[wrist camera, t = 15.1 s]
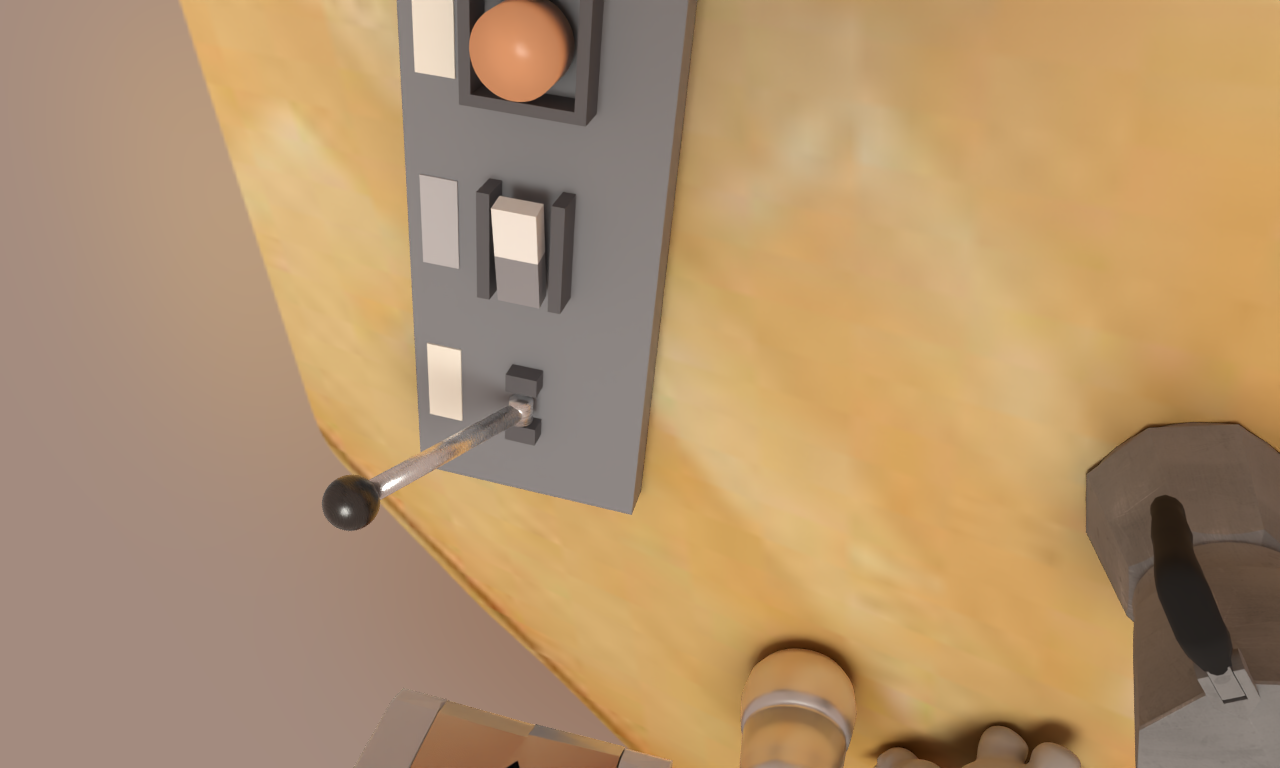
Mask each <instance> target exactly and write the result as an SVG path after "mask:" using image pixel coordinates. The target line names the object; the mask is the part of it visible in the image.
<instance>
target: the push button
mask: <svg viewBox="0 0 1280 768" xmlns="http://www.w3.org/2000/svg"><path fill="white" fill-rule="evenodd" d="M574 49H575V44H574V36H573V32H572V29H571V26H570V24H569V22H568V20H567V18H566V17H565V15H564V14H563V12H562V11H561V10H560V9H559V8H558V7H557V6H556V5H555V4H553V3H552V2H551V1H549V0H504V1H503V2H501V3H500V4H498V5H496V6H495V7H493V8H491V9H490V10H488V11H487V12H485V13H484V14H483V15H482V16H481V17H480V18H479V19H478V20H477V22H476V23H475V25H474V27H473V29H472V32H471V35H470V41H469V53H470V59H471V62H472V66H473V68H474V70H475V72H476V74H477V76H478V78H479V79H480V80H481V82H482V83H483V84H484V85H485V86H486V87H487V88H488V89H489V90H490V91H491V92H493V93H494V94H496V95H497V96H499V97H501V98H503V99H506V100H509V101H514V102H526V101H531V100H534V99H536V98H538V97H540V96H542V95H543V94H544V93H546V92H547V91H548V90H549V89H550V88H551V87H552V86H553V85H554V84H555V83H556V82H557V81H559V80H560V79H561V78H562V77H563V76H564V75H565V73H566V72H567V71H568V69H569V67H570V65H571V63H572V60H573V56H574Z"/></svg>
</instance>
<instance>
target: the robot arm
mask: <svg viewBox="0 0 1280 768" xmlns="http://www.w3.org/2000/svg"><path fill="white" fill-rule="evenodd" d="M354 768H672V760H669V759H665V758H661V757H657V756H653V755H649V754H645V753H641V752H637V751H633V750H629V749H625V747H624V746H620V745H616V744H611V743H608V742H604V741H600V740H596V739H592V738H588V737H584V736H580V735H576V734H572V733H568V732H565V731H561V730H556V729H552V728H549V727H545V726H541V725H537V724H536V725H533V724H529V723H525V722H522V721H519V720H515V719H512V718H508V717H504V716H501V715H497V714H494V713H490V712H487V711H483V710H479V709H476V708H472V707H468V706H465V705H462V704H458V703H455V702H451V701H449V700H447V699H443V698H439V697H435V696H432V695H428V694H424V693H420V692H417V691H413V690H409V689H405V688H403V689H402V690H401V691H400V692H399V693H398V694H397V696H396V697H395V698H394V699H393V700H392V701H391V702H390V704H389V706H388V707H387V709H386V711H385V713H384V715H383V717H382V718H381V720H380V722H379V723H378V725H377V727H376V729H375V731H374V732H373V734H372V736H371V738H370V739H369V741H368V743H367V745H366V747H365V748H364V750H363V752H362V754H361V756H360V757H359V759H358V761H357V763H356V764H355V766H354Z"/></svg>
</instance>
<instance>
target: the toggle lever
mask: <svg viewBox="0 0 1280 768" xmlns="http://www.w3.org/2000/svg"><path fill="white" fill-rule="evenodd" d="M532 421H533V398H532V397H529V396H524V395H520V394H514V395H512V396H511V397H510V398H509V405H508V406H506V407H504V408H502V409H501V410H499V411H497V412H495V413H493V414H491V415H489V416H488V417H486V418H484V419H482V420H480V421H478V422H476V423H474V424H473V425H471V426H469V427H467V428H465V429H463V430H461V431H460V432H458V433H456V434H454V435H452V436H450V437H448V438H446V439H445V440H443V441H441V442H439V443H437V444H435V445H433V446H432V447H430V448H428V449H426V450H424V451H422V452H420V453H419V454H417V455H415V456H413V457H411V458H409V459H407V460H405V461H404V462H402V463H400V464H398V465H396V466H394V467H392V468H391V469H389V470H387V471H385V472H383V473H381V474H379V475H377V476H376V477H374V478H372V479H370V480H368V479H366V478H364V477H362V476H358V475H346V476H342V477H340V478H338V479H336V480H335V481H333V482H332V483H331V484H330V485H329V486H328V488H327V489H326V491H325V493H324V496H323V500H322V508H323V512H324V515H325V517H326V518H327V520H328V521H329V522H330V523H331V524H332V525H333V526H335V527H337V528H339V529H342V530H348V531H352V530H358V529H361V528H363V527H365V526H367V525H368V524H370V523H371V522H372V521H373V520H374V518H375V517H376V515H377V513H378V511H379V507H380V500H381V499H383V498H384V497H386V496H388V495H390V494H392V493H393V492H395V491H397V490H399V489H401V488H402V487H404V486H406V485H408V484H410V483H411V482H413V481H415V480H417V479H418V478H420V477H422V476H424V475H426V474H427V473H429V472H431V471H433V470H435V469H436V468H438V467H440V466H442V465H444V464H445V463H447V462H449V461H451V460H453V459H454V458H456V457H458V456H460V455H462V454H463V453H465V452H467V451H469V450H471V449H472V448H474V447H476V446H478V445H480V444H481V443H483V442H485V441H487V440H488V439H490V438H492V437H494V436H496V435H497V434H499V433H501V432H503V431H505V430H506V429H508V428H510V427H512V426H518V427H524V426H528V425H530V424H531V423H532Z"/></svg>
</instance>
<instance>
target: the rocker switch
mask: <svg viewBox="0 0 1280 768" xmlns="http://www.w3.org/2000/svg"><path fill="white" fill-rule="evenodd" d="M491 216H492V229H493V243H494V256H495V269H496V282H497V295H498V300H500V301H505V302H509V303H514V304H519V305H524V306H529V307H534V308H539V309H540V307H541V305H542V303H543V301H544V299H545V297H546V264H545V231H544V204H540V203H535V202H530V201H524V200H519V199H514V198H508V197H503V196H499V197H498V198H497V200H496V202H495V203H494V205H493V206H492V208H491Z"/></svg>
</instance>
